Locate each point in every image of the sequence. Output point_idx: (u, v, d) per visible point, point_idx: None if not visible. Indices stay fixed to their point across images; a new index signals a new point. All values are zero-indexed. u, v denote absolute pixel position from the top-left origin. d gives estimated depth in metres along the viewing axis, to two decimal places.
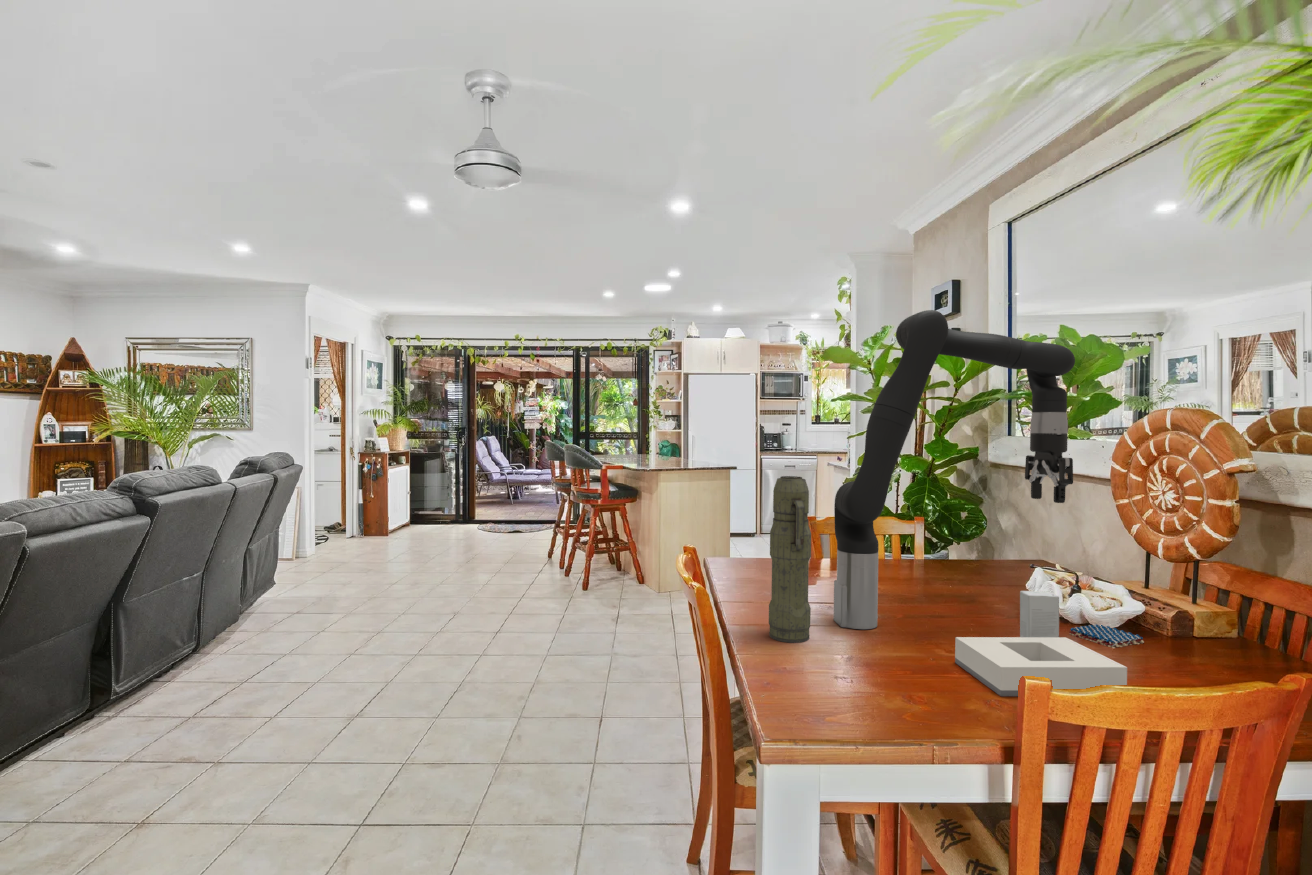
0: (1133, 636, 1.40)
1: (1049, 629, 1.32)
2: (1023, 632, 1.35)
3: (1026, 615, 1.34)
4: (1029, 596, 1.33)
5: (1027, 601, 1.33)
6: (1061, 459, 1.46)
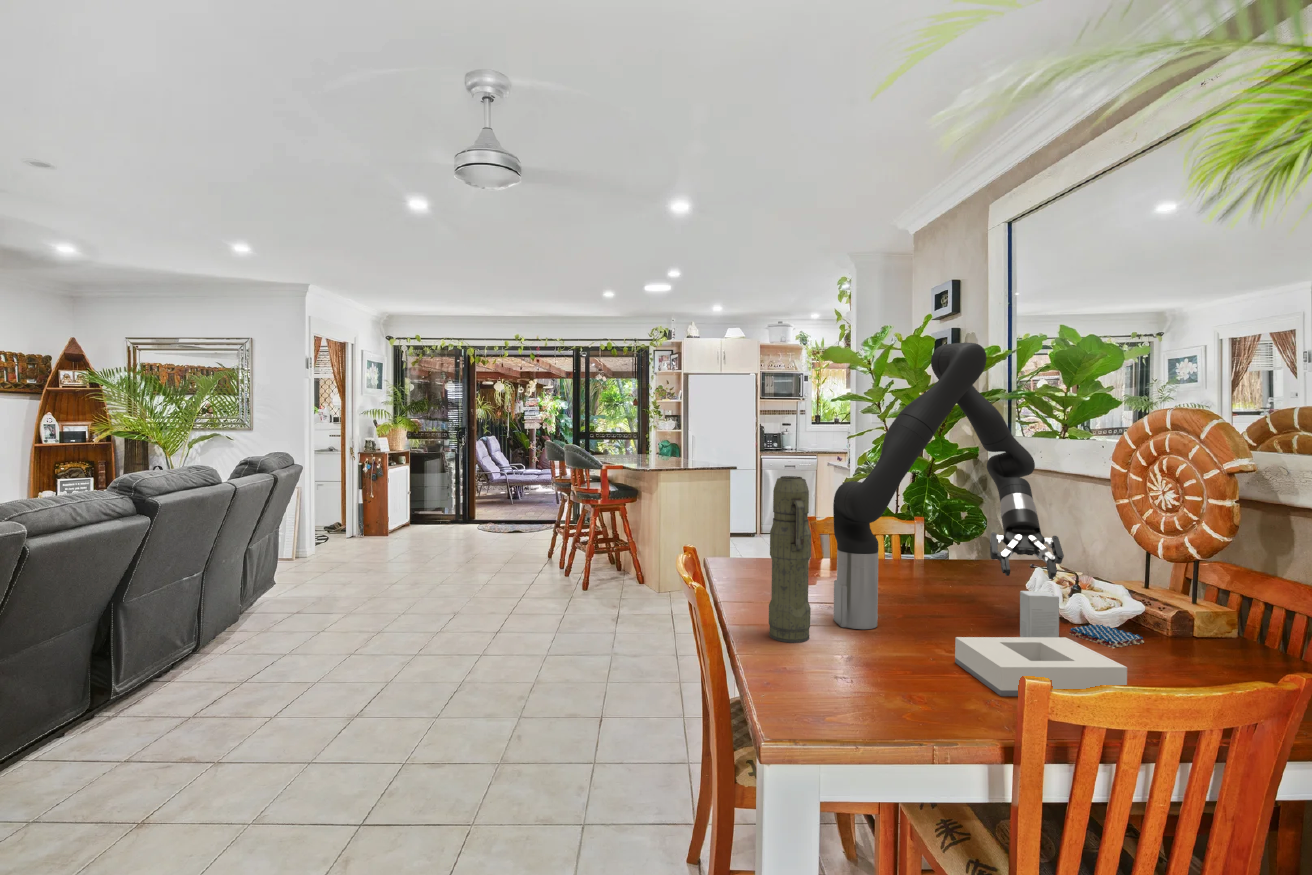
0: (1133, 636, 1.40)
1: (1049, 629, 1.32)
2: (1023, 632, 1.35)
3: (1026, 615, 1.34)
4: (1029, 596, 1.32)
5: (1027, 601, 1.33)
6: (1056, 537, 1.46)
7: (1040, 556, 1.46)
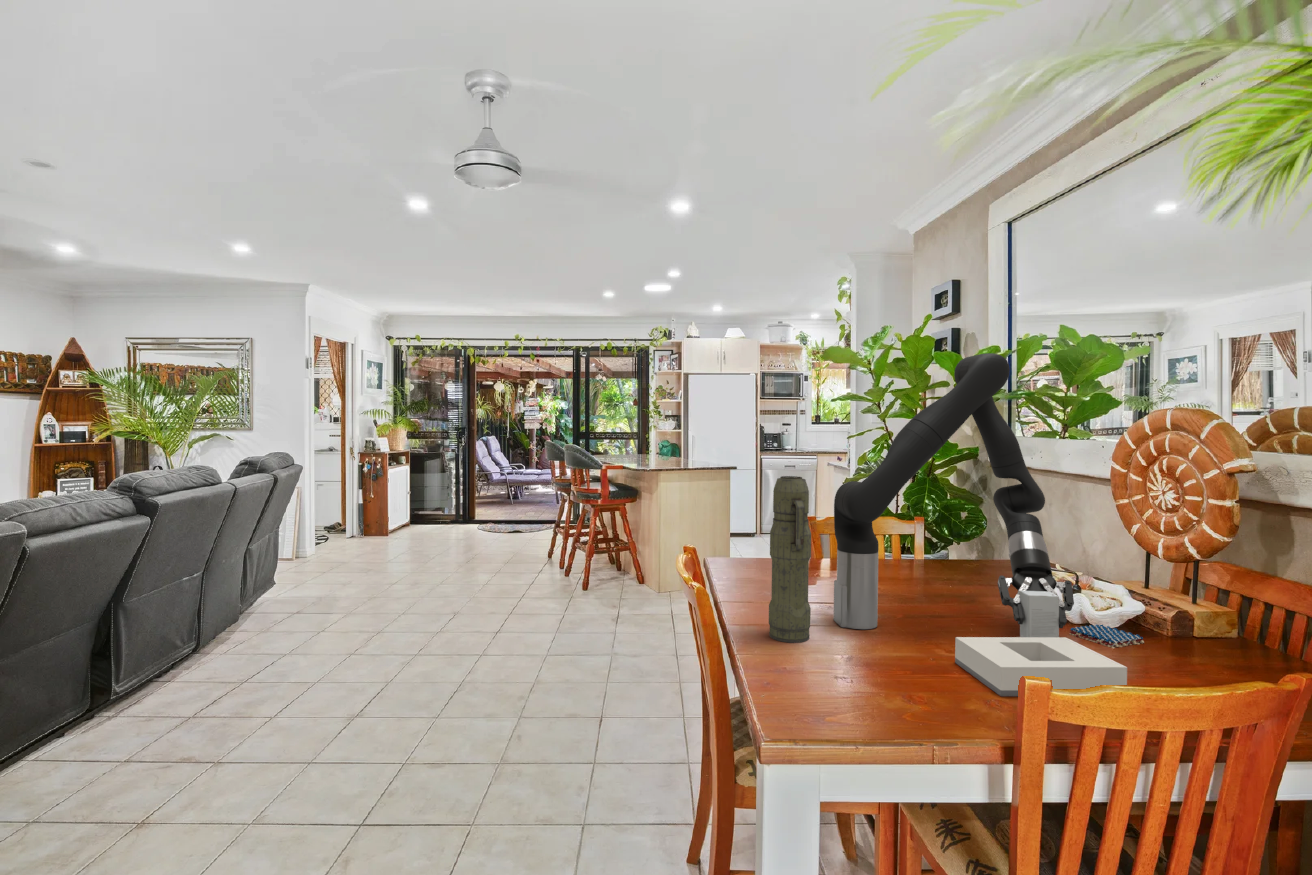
0: (1133, 636, 1.40)
1: (1049, 629, 1.32)
2: (1023, 632, 1.35)
3: (1026, 615, 1.34)
4: (1029, 596, 1.32)
5: (1027, 601, 1.33)
6: (1069, 582, 1.36)
7: None
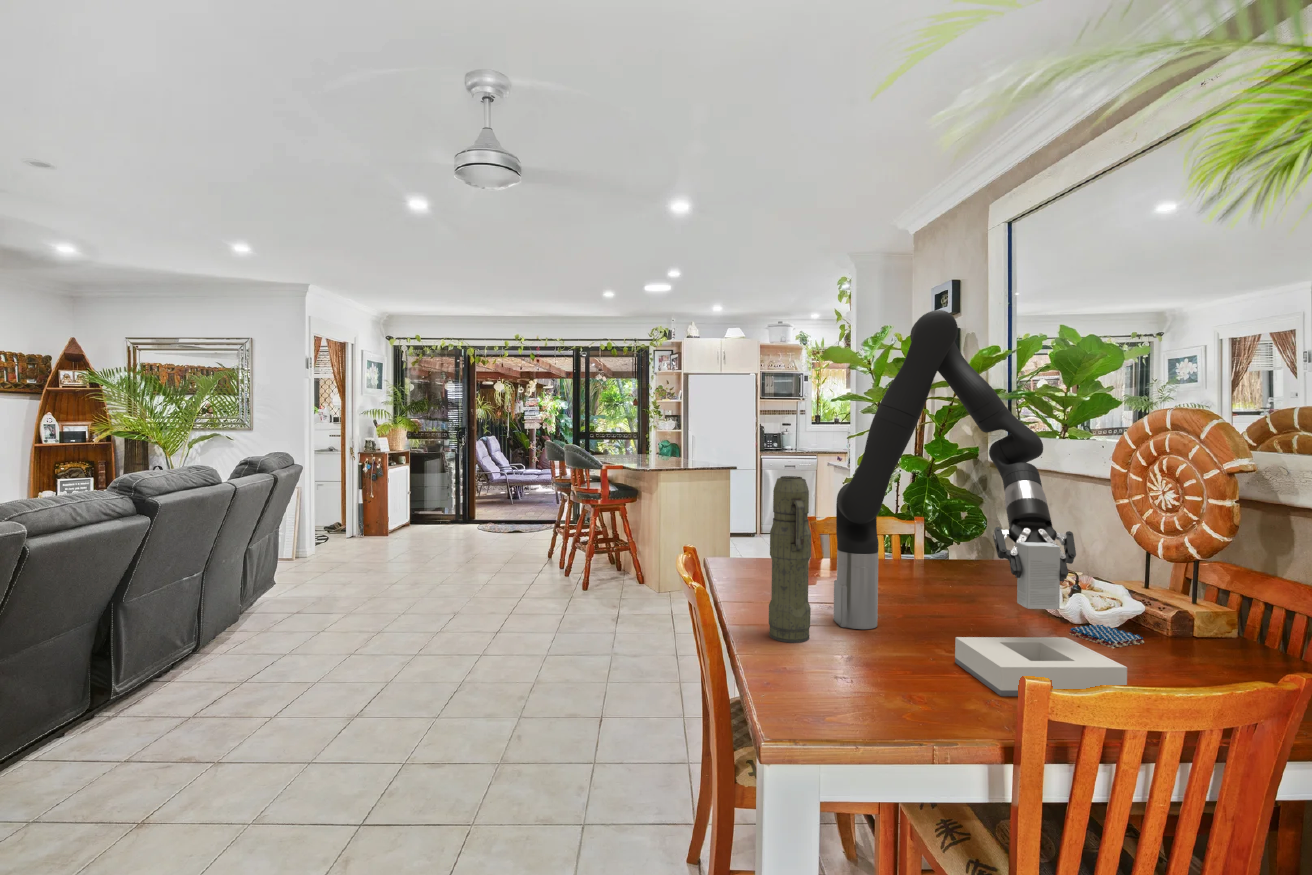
0: (1133, 636, 1.40)
1: (1049, 582, 1.21)
2: (1021, 586, 1.24)
3: (1024, 568, 1.23)
4: (1028, 546, 1.22)
5: (1026, 552, 1.22)
6: (1071, 533, 1.26)
7: None
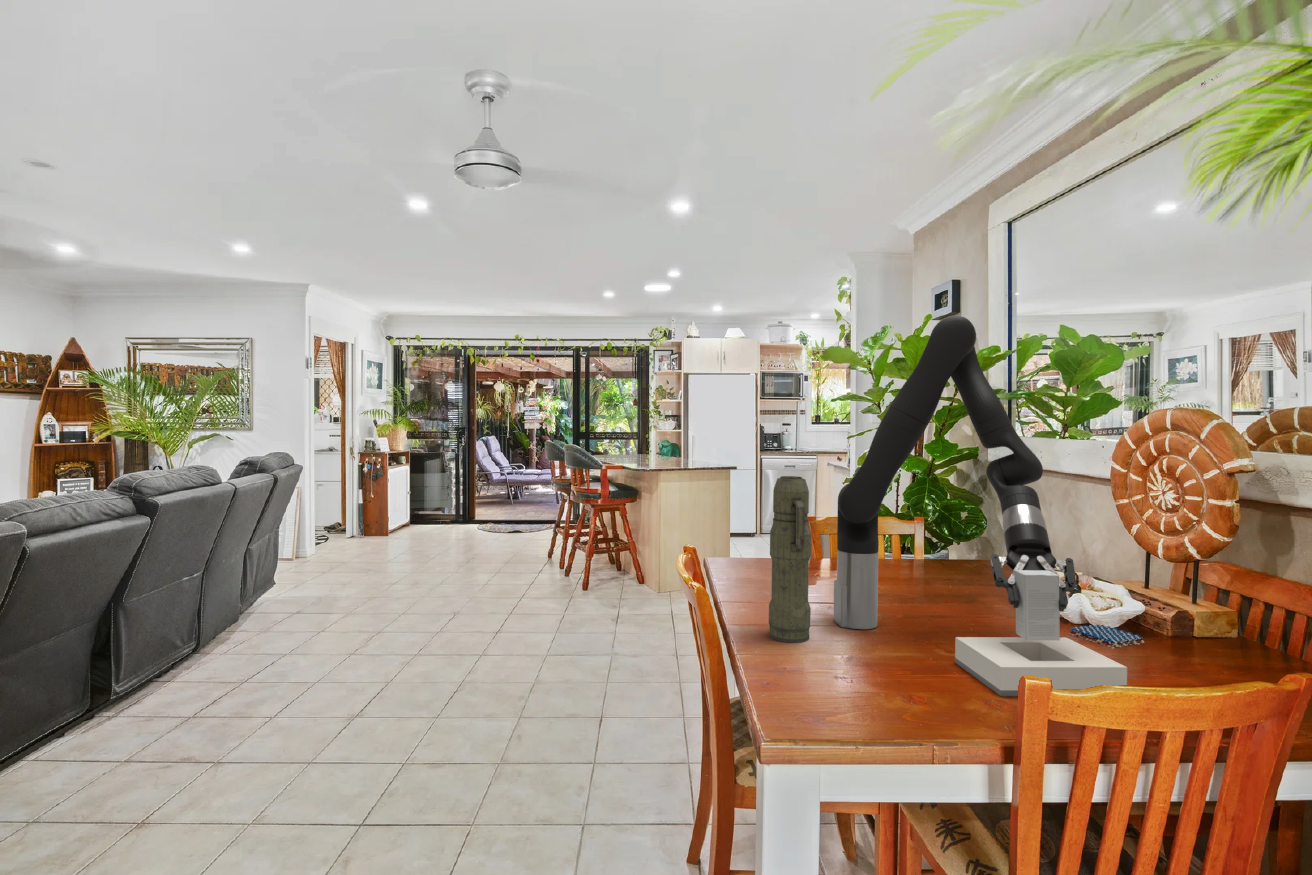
0: (1133, 636, 1.40)
1: (1048, 612, 1.17)
2: (1019, 616, 1.19)
3: (1022, 597, 1.18)
4: (1025, 575, 1.17)
5: (1023, 581, 1.18)
6: (1071, 560, 1.21)
7: None
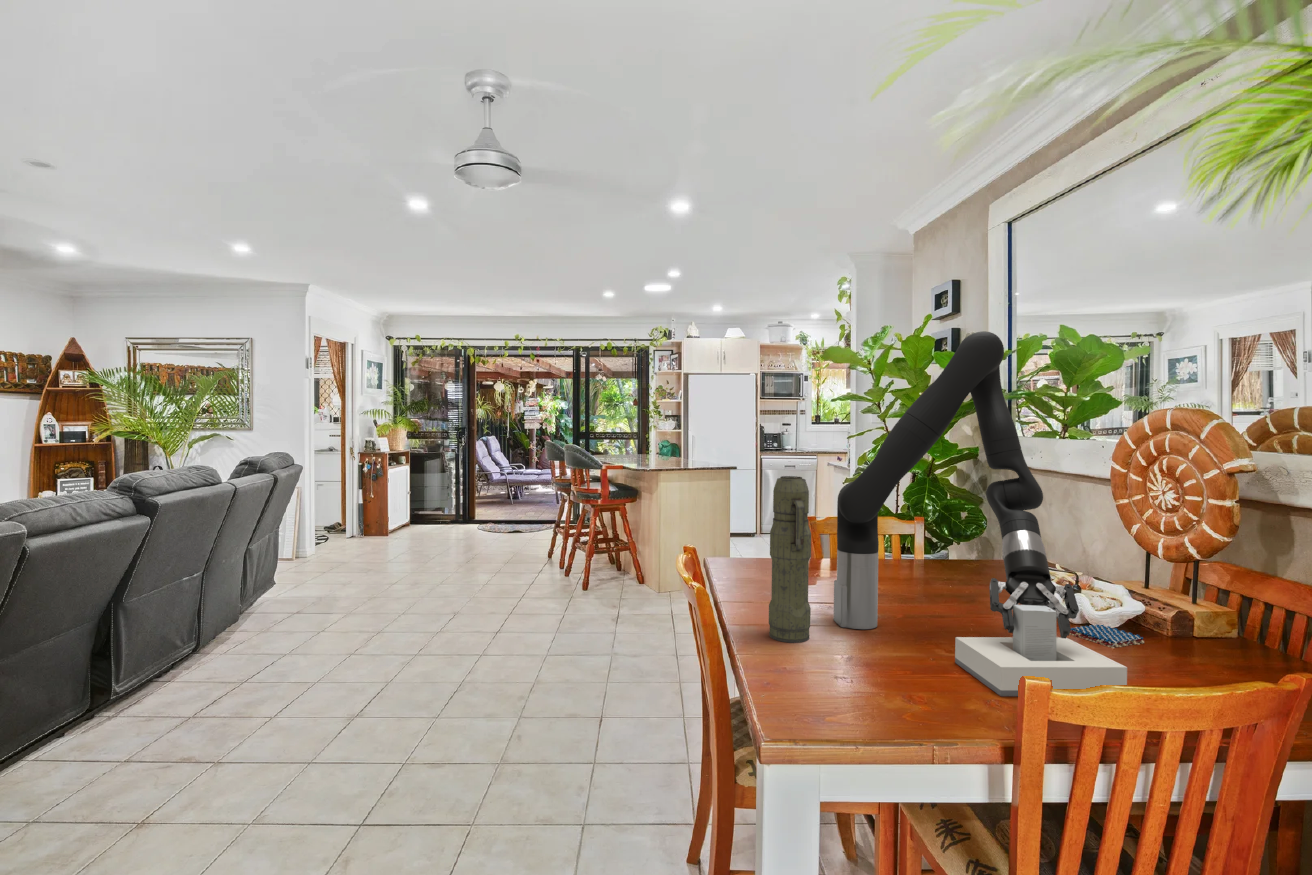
0: (1133, 636, 1.40)
1: (1045, 648, 1.17)
2: (1016, 651, 1.20)
3: (1019, 632, 1.19)
4: (1022, 611, 1.18)
5: (1020, 617, 1.18)
6: (1070, 585, 1.21)
7: None
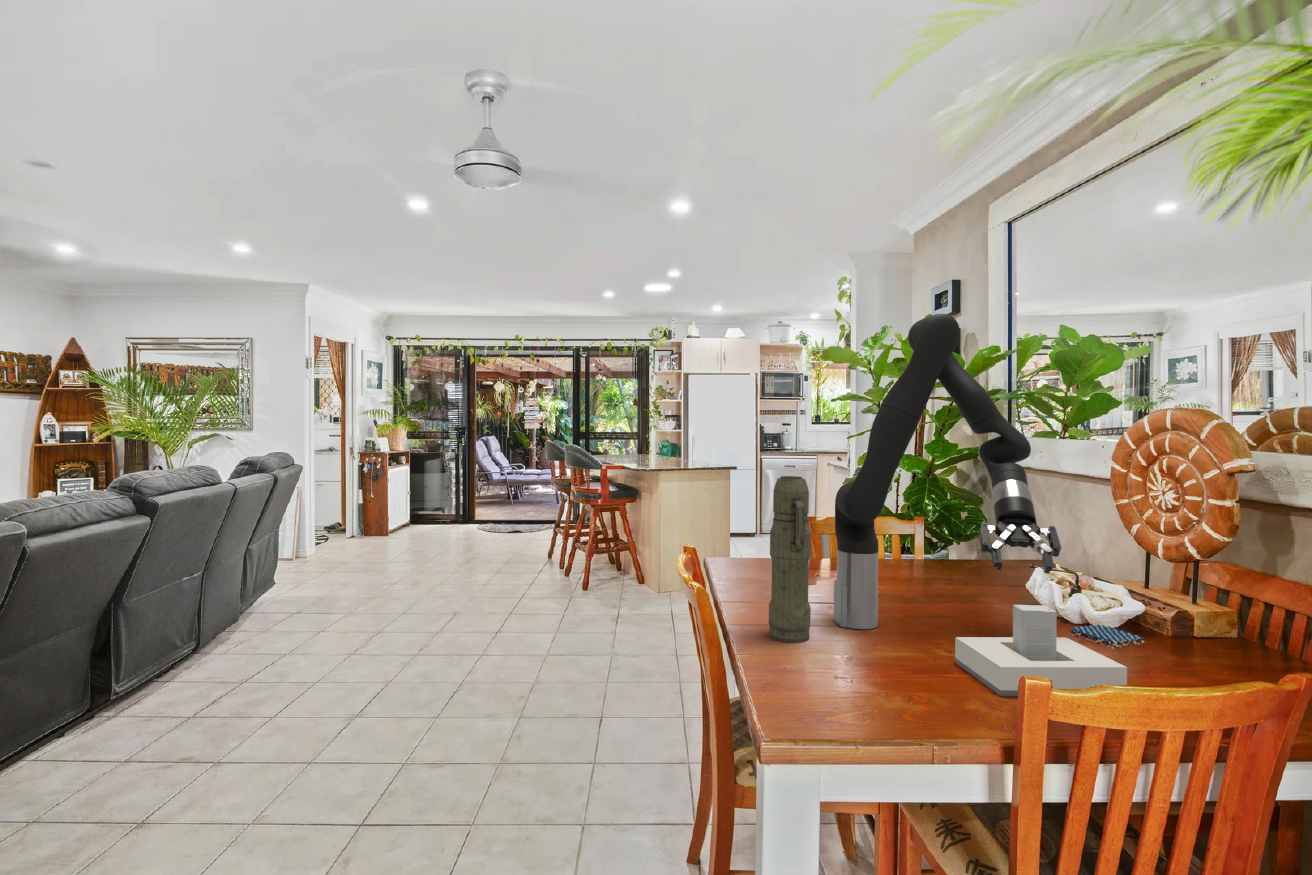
0: (1133, 636, 1.40)
1: (1045, 648, 1.17)
2: (1016, 651, 1.20)
3: (1019, 632, 1.19)
4: (1022, 611, 1.18)
5: (1020, 617, 1.18)
6: (1053, 527, 1.33)
7: (1035, 548, 1.32)
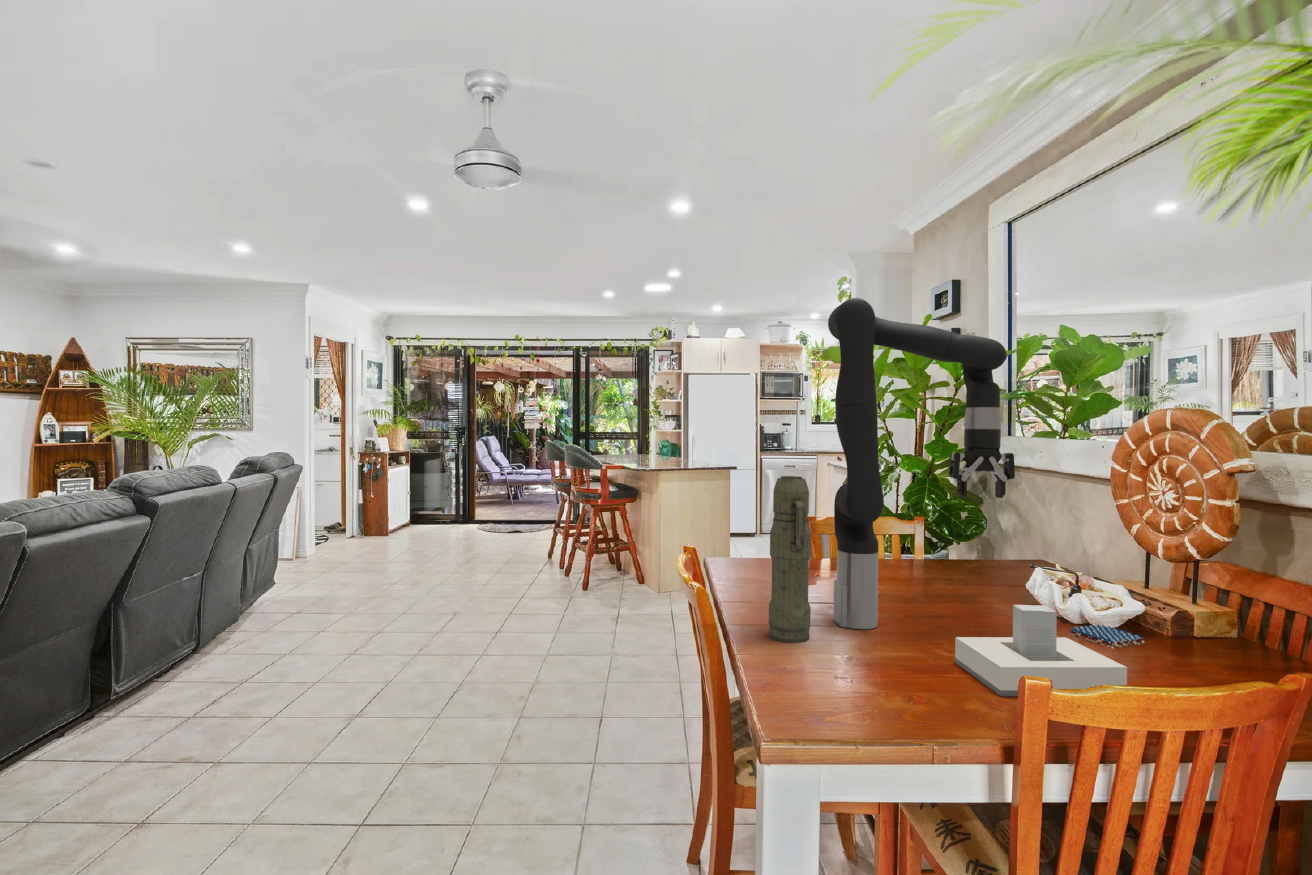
0: (1133, 636, 1.40)
1: (1045, 648, 1.17)
2: (1016, 651, 1.20)
3: (1019, 632, 1.19)
4: (1022, 611, 1.18)
5: (1020, 617, 1.18)
6: (1012, 454, 1.49)
7: (992, 472, 1.50)
